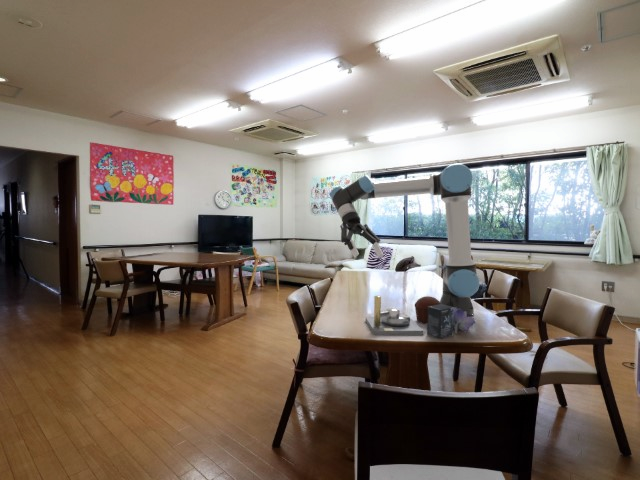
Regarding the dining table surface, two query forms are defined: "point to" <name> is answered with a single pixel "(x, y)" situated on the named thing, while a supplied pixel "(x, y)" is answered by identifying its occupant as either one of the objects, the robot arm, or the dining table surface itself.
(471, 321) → the flower
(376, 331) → the stand
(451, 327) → the box
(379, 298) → the crank handle
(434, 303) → the muffin
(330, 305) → the dining table surface
